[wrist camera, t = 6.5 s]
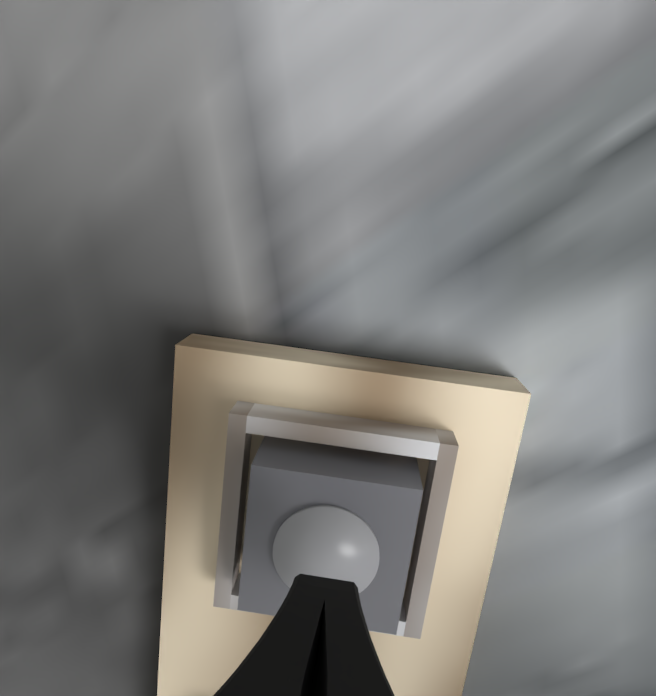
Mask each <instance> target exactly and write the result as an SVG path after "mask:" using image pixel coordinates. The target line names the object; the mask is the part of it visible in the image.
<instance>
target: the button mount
mask: <svg viewBox="0 0 656 696" xmlns="http://www.w3.org/2000/svg"><path fill="white" fill-rule="evenodd" d="M530 397H531V393H530V392H529V391H528V390H527V389H526V388H525V387H524V386H523V385H522V384H521V382H520V381H519V380H518V379H517V378H513V377H506V376H499V375H491V374H484V373H477V372H470V371H462V370H455V369H448V368H440V367H433V366H426V365H419V364H411V363H404V362H397V361H389V360H382V359H375V358H368V357H360V356H353V355H346V354H338V353H331V352H324V351H317V350H309V349H302V348H295V347H287V346H280V345H273V344H266V343H258V342H251V341H244V340H236V339H229V338H222V337H215V336H207V335H200V334H193V333H192V334H191V335H189V336H188V337H186V338H185V339H183V340H182V341H180V342H179V343H177V344H176V345H175V362H174V381H173V400H172V419H171V438H170V458H169V477H168V496H167V515H166V534H165V553H164V572H163V591H162V610H161V630H160V649H159V668H158V687H157V696H213V695H214V694H215V693H216V692H217V691H218V690H219V689H220V688H221V686H222V685H223V684H224V683H225V682H226V681H227V680H228V678H229V677H230V676H231V675H232V674H233V673H234V671H235V670H236V669H237V668H238V667H239V665H240V664H241V663H242V661H243V660H244V659H245V657H246V656H247V655H248V654H249V652H250V651H251V650H252V648H253V647H254V646H255V644H256V643H257V642H258V640H259V639H260V638H261V636H262V635H263V633H264V632H265V630H266V629H267V627H268V626H269V624H270V623H271V621H272V620H273V618H274V617H275V616H273V615H267V614H261V613H254V612H248V611H242V610H237V608H238V598H239V587H240V576H241V566H242V555H243V545H244V534H245V524H246V513H247V502H248V492H249V481H250V471H251V464H252V462H253V460H254V458H255V455H256V453H257V451H258V449H259V447H260V445H261V443H262V440H263V438H264V436H271V437H277V438H284V439H291V440H298V441H305V442H312V443H319V444H326V445H333V446H340V447H347V448H354V449H361V450H368V451H375V452H381V453H388V454H395V455H402V456H409V457H416V458H417V462H418V467H419V472H420V477H421V482H422V487H423V494H422V499H421V505H420V510H419V515H418V521H417V526H416V532H415V537H414V542H413V548H412V553H411V559H410V564H409V569H408V575H407V580H406V585H405V591H404V596H403V602H402V607H401V612H400V618H399V623H398V628H397V634H396V635H394V634H388V633H381V632H375V631H369V633H370V636H371V639H372V642H373V645H374V647H375V650H376V653H377V655H378V658H379V661H380V663H381V666H382V668H383V670H384V673H385V675H386V678H387V680H388V682H389V684H390V686H391V689H392V691H393V693H394V695H395V696H462V692H463V687H464V683H465V679H466V674H467V670H468V666H469V661H470V657H471V653H472V648H473V644H474V640H475V635H476V631H477V627H478V622H479V618H480V614H481V609H482V605H483V601H484V596H485V592H486V588H487V583H488V579H489V575H490V570H491V566H492V562H493V557H494V553H495V549H496V544H497V540H498V536H499V531H500V527H501V523H502V518H503V514H504V510H505V505H506V501H507V497H508V492H509V488H510V484H511V479H512V475H513V471H514V466H515V462H516V458H517V453H518V449H519V445H520V440H521V436H522V432H523V427H524V423H525V419H526V414H527V410H528V406H529V401H530Z"/></svg>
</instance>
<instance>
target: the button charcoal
mask: <svg viewBox="0 0 656 696" xmlns="http://www.w3.org/2000/svg"><path fill="white" fill-rule="evenodd" d="M422 494H423V487H422V482H421V477H420V472H419V467H418V462H417V458H416V457H409V456H402V455H395V454H388V453H381V452H375V451H368V450H361V449H354V448H347V447H340V446H333V445H326V444H319V443H312V442H305V441H298V440H291V439H284V438H277V437H271V436H264V438H263V440H262V443H261V445H260V447H259V449H258V451H257V453H256V455H255V458H254V460H253V462H252V464H251V471H250V481H249V492H248V502H247V513H246V524H245V534H244V545H243V555H242V566H241V576H240V587H239V598H238V608H237V610H242V611H248V612H254V613H261V614H267V615H273V616H275V615H276V613H277V612H278V610H279V608H280V607H281V605H282V603H283V602H284V600H285V598H286V596H287V594H288V592H289V590H290V588H291V586H292V583H293V581H294V578H295V577H296V576H297V575H299V574H306V575H313V576H319V577H325V578H332V579H338V580H344V581H351V582H354V583H355V584H356V586H357V587H358V592H359V598H360V602H361V607H362V610H363V614H364V617H365V621H366V624H367V627H368V630H369V631H375V632H381V633H388V634H394V635H396V634H397V628H398V623H399V618H400V612H401V607H402V602H403V596H404V591H405V585H406V580H407V575H408V569H409V564H410V559H411V553H412V548H413V542H414V537H415V532H416V526H417V521H418V515H419V510H420V505H421V499H422Z"/></svg>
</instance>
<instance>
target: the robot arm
mask: <svg viewBox="0 0 656 696" xmlns="http://www.w3.org/2000/svg"><path fill="white" fill-rule="evenodd" d="M213 696H395V695H394V693H393V691H392V689H391V686H390V684H389V682H388V680H387V678H386V675H385V673H384V670H383V668H382V666H381V663H380V661H379V658H378V655H377V653H376V650H375V647H374V645H373V642H372V639H371V636H370V633H369V630H368V627H367V624H366V621H365V617H364V614H363V610H362V607H361V602H360V598H359V592H358V587H357V586H356V584H355V583H354V582H351V581H344V580H338V579H332V578H325V577H319V576H313V575H306V574H299V575H297V576H296V577H295V578H294V581H293V583H292V586H291V588H290V590H289V592H288V594H287V596H286V598H285V600H284V602H283V603H282V605H281V607H280V608H279V610H278V612H277V613H276V615H275V617H274V618H273V620H272V621H271V623H270V624H269V626H268V627H267V629H266V630H265V632H264V633H263V635H262V636H261V638H260V639H259V640H258V642H257V643H256V644H255V646H254V647H253V648H252V650H251V651H250V652H249V654H248V655H247V656H246V657H245V659H244V660H243V661H242V663H241V664H240V665H239V667H238V668H237V669H236V670H235V671H234V673H233V674H232V675H231V676H230V677H229V678H228V680H227V681H226V682H225V683H224V684H223V685H222V686H221V688H220V689H219V690H218V691H217V692H216V693H215V694H214V695H213Z"/></svg>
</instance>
